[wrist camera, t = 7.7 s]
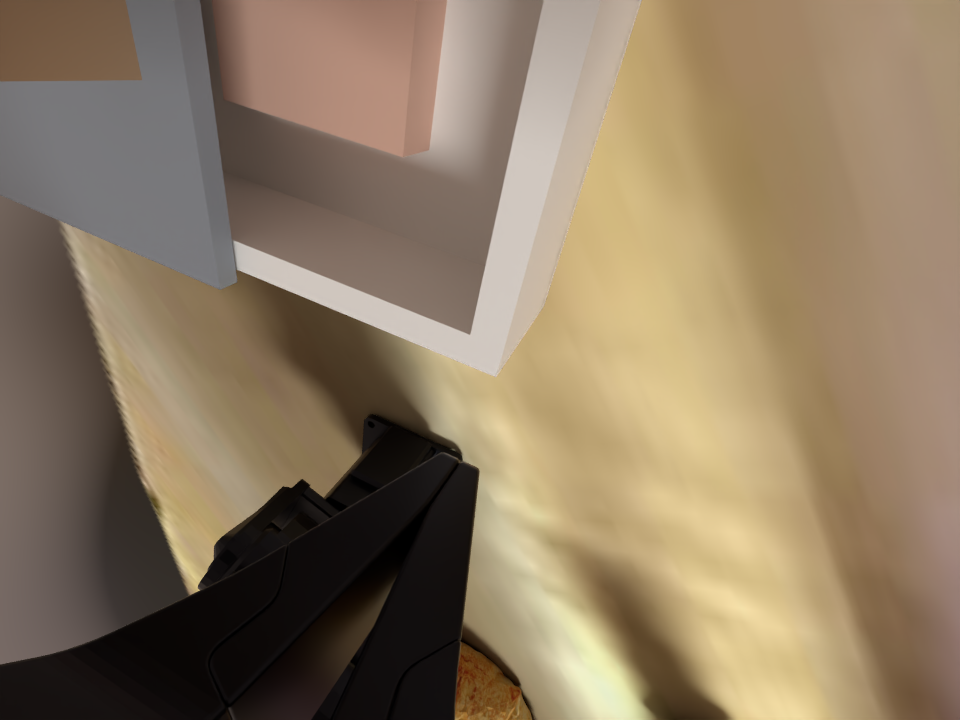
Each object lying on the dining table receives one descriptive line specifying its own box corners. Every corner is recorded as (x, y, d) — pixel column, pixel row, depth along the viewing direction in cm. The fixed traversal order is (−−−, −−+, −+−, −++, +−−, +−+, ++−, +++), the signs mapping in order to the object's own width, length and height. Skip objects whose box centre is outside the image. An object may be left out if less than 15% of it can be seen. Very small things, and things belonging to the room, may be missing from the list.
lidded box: (544, 306, 20) (496, 377, 15) (219, 185, 24) (100, 213, 19) (731, -280, 11) (755, -559, 6) (148, -330, 14) (-121, -528, 10)
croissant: (571, 703, 44) (592, 802, 36) (489, 752, 45) (491, 858, 38) (429, 554, 39) (417, 631, 32) (343, 614, 41) (312, 702, 33)
